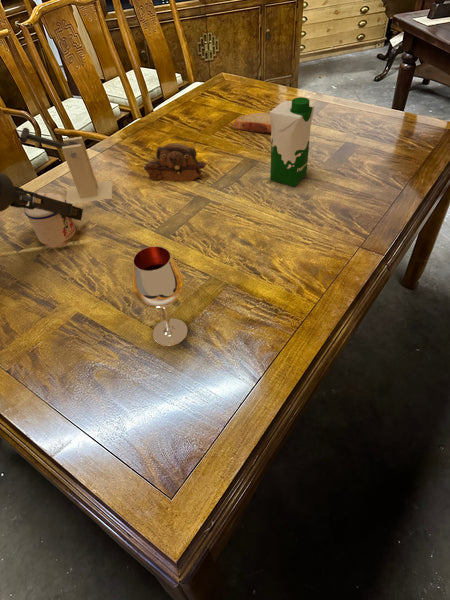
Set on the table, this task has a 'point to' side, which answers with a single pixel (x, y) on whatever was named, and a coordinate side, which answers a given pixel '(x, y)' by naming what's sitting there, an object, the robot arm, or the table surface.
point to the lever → (41, 139)
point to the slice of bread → (254, 122)
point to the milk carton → (290, 140)
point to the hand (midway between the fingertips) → (63, 211)
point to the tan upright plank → (83, 175)
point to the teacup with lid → (51, 224)
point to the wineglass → (159, 290)
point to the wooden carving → (175, 163)
